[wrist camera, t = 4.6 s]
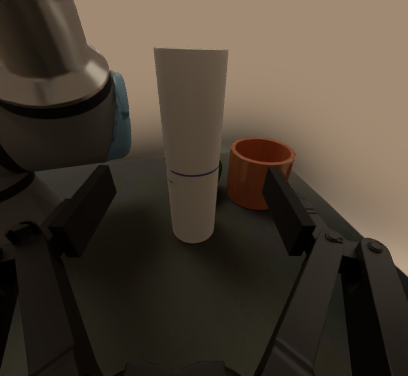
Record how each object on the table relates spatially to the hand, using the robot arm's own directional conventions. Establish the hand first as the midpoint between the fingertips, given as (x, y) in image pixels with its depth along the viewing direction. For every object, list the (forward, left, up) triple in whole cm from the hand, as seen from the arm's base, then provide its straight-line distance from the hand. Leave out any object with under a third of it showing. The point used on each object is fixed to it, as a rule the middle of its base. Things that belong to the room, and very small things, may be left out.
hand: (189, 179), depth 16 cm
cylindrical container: (-7, +7, -16) cm, 19 cm away
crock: (-5, +23, -16) cm, 28 cm away
